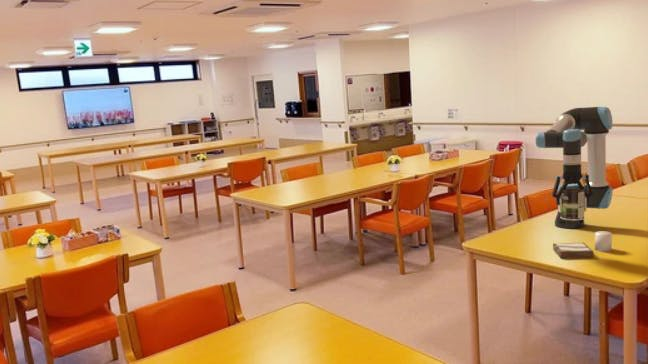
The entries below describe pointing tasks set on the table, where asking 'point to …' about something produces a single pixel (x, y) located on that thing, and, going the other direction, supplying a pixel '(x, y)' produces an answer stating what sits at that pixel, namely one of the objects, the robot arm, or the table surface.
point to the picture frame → (572, 250)
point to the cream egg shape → (603, 241)
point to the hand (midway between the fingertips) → (572, 211)
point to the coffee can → (572, 203)
